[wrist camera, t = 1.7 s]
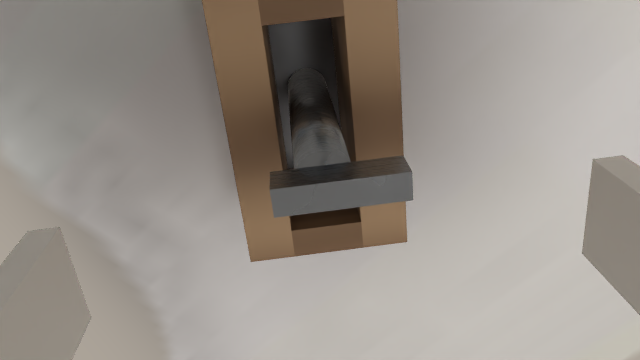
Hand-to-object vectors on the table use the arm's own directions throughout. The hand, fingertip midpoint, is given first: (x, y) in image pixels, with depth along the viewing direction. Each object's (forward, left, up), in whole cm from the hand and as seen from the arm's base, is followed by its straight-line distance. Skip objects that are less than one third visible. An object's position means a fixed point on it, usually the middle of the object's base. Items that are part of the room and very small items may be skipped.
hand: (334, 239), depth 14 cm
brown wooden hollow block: (0, 0, -13) cm, 13 cm away
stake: (0, 0, -13) cm, 13 cm away
